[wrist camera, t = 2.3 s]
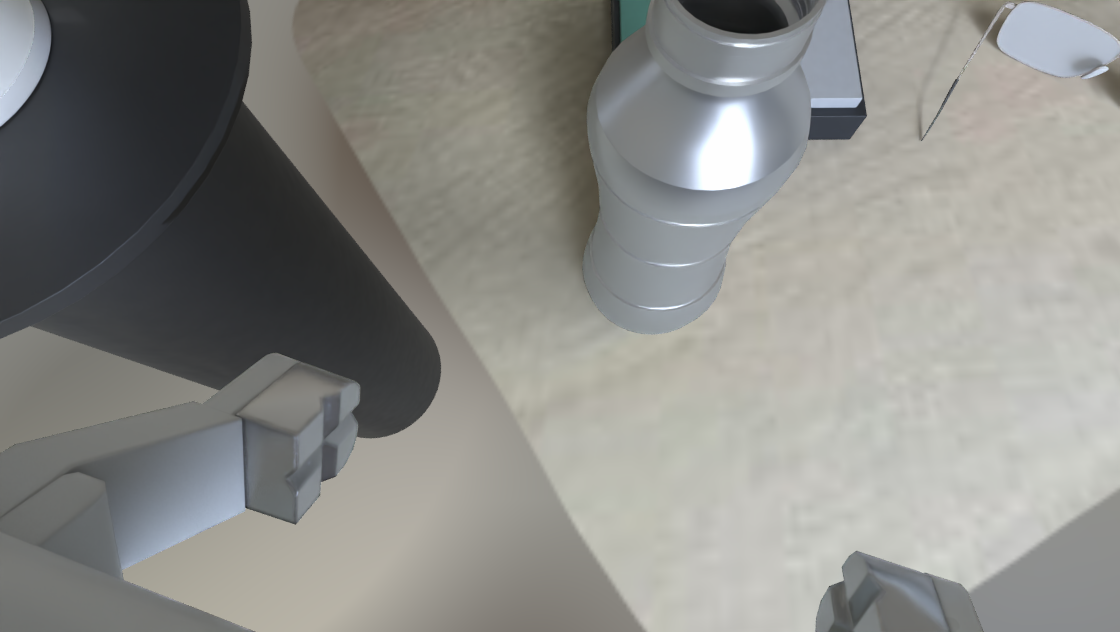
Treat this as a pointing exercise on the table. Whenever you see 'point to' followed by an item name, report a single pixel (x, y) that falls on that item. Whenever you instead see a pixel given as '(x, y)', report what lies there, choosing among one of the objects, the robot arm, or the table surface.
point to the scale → (823, 64)
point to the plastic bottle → (691, 149)
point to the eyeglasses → (1051, 42)
